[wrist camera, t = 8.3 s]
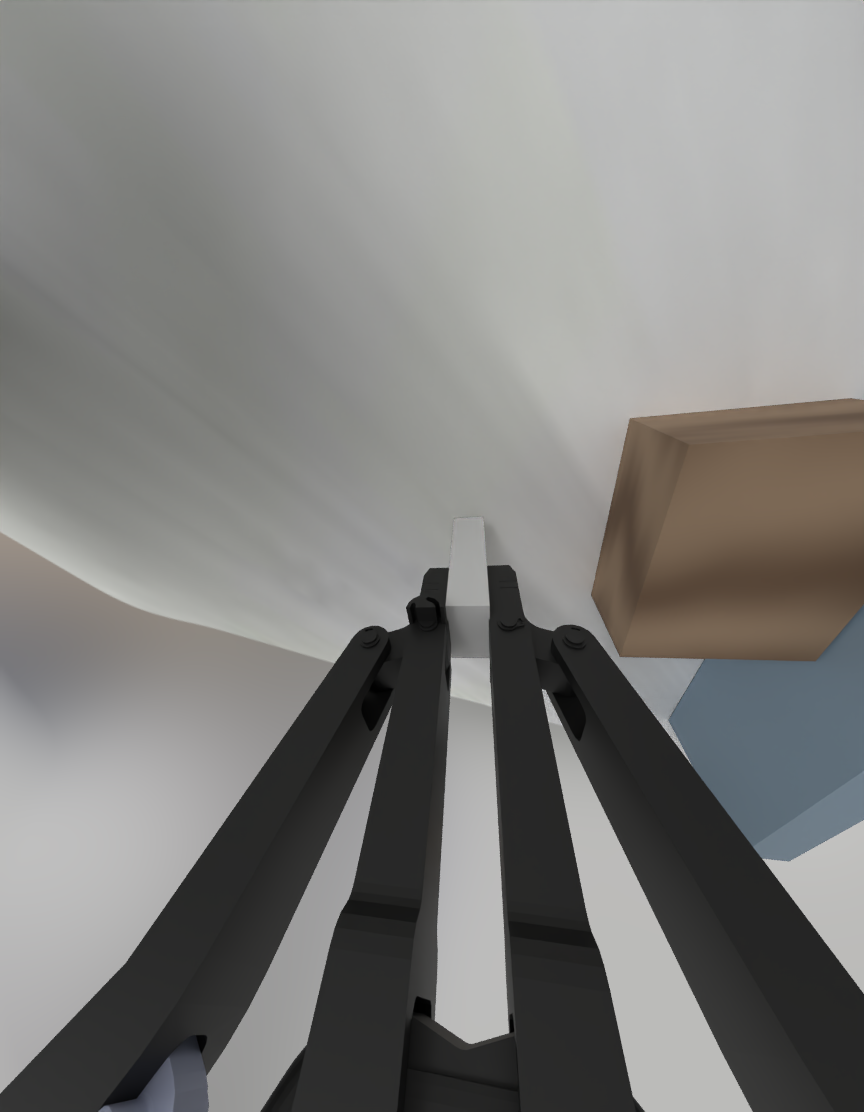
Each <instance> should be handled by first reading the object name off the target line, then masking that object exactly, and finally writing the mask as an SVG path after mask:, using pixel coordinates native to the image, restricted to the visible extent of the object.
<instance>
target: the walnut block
mask: <svg viewBox="0 0 864 1112" xmlns="http://www.w3.org/2000/svg"><path fill="white" fill-rule="evenodd" d="M591 596H592V598H593V600H594V602H595V604H596V606H597V608H598V611H599V613H600V615H601V617H602V619H603V621H604V623H605V626H606V628H607V630H608V632H609V634H610V636H611V638H612V641H613V643H614V645H615V647H616V649H617V651H618V653H619V655H620V657H650V658H693V659H735V660H777V661H816V660H817V659H818V658H819V657H820V655H821V654H822V653H823V652H824V651H825V650H826V648H827V647H828V646H829V645H830V644H831V642H832V641H833V640H834V639H835V638H836V637H837V635H838V634H839V633H840V632H841V631H842V629H843V628H844V627H845V626H846V625H847V624H848V622H849V621H850V620H851V619H852V618H853V616H854V615H855V614H856V613H857V612H858V611H859V609H860V608H861V607H862V606H863V605H864V400H859V399H852V398H850V399H839V400H827V401H816V402H805V403H794V404H783V405H772V406H761V407H750V408H739V409H728V410H717V411H706V412H695V413H684V414H673V415H662V416H651V417H640V418H630V420H629V425H628V429H627V434H626V438H625V443H624V447H623V452H622V457H621V461H620V466H619V470H618V475H617V479H616V484H615V489H614V493H613V498H612V502H611V507H610V511H609V516H608V521H607V525H606V530H605V534H604V539H603V543H602V548H601V552H600V557H599V562H598V566H597V571H596V575H595V580H594V584H593V589H592V594H591Z"/></svg>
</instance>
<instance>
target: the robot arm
mask: <svg viewBox="0 0 864 1112" xmlns="http://www.w3.org/2000/svg"><path fill="white" fill-rule="evenodd" d="M406 609H407V614H408V619H409V623H410V624H409V625H408V626H406V627H404V628H402V629H399V630H395V631H392V632H387V631H386V630H385V629H384V628H382V627H380V626H370V627H366V628H364V629H362V630H360V631H359V632H358V633H357V634H356V635H355V636H354V637H353V638H352V640H351V641H350V643H349V644H348V646H347V647H346V648H345V650H344V651H343V653H342V654H341V656H340V657H339V658H338V660H337V661H336V663H335V664H334V666H333V667H332V669H331V670H330V671H329V673H328V674H327V676H326V677H325V679H324V680H323V682H322V683H321V685H320V686H319V687H318V689H317V690H316V691H315V693H314V694H313V696H312V697H311V699H310V700H309V701H308V703H307V704H306V706H305V707H304V709H303V710H302V712H301V713H300V714H299V716H298V717H297V719H296V720H295V722H294V723H293V724H292V726H291V727H290V729H289V730H288V732H287V733H286V735H285V736H284V737H283V739H282V740H281V742H280V743H279V744H278V746H277V747H276V749H275V750H274V752H273V753H272V754H271V756H270V757H269V759H268V760H267V762H266V763H265V764H264V766H263V767H262V769H261V770H260V772H259V773H258V775H257V776H256V777H255V779H254V780H253V782H252V783H251V785H250V786H249V787H248V789H247V790H246V792H245V793H244V795H243V796H242V797H241V799H240V800H239V802H238V803H237V805H236V806H235V807H234V809H233V810H232V812H231V813H230V815H229V816H228V818H227V819H226V821H225V822H224V823H223V825H222V826H221V828H220V829H219V830H218V832H217V833H216V835H215V836H214V838H213V839H212V841H211V842H210V843H209V845H208V846H207V848H206V849H205V850H204V852H203V854H202V855H201V856H200V858H199V859H198V861H197V862H196V864H195V865H194V866H193V868H192V869H191V870H190V872H189V873H188V875H187V876H186V878H185V879H184V881H183V882H182V883H181V885H180V886H179V888H178V889H177V891H176V892H175V894H174V895H173V896H172V898H171V899H170V901H169V902H168V903H167V905H166V906H165V908H164V909H163V911H162V912H161V913H160V915H159V916H158V918H157V919H156V921H155V922H154V924H153V925H152V926H151V928H150V929H149V931H148V932H147V934H146V935H145V936H144V938H143V939H142V941H141V942H140V944H139V945H138V946H137V948H136V949H135V951H134V952H133V954H132V955H131V956H130V958H129V959H128V961H127V962H126V964H125V965H124V966H123V967H122V968H121V969H120V970H119V971H118V972H117V973H116V974H115V975H114V976H113V977H112V978H111V979H110V980H109V981H108V982H107V983H106V984H105V985H104V986H103V987H102V988H101V990H100V991H99V992H98V993H97V994H96V995H95V996H94V997H93V998H92V999H91V1000H90V1001H89V1002H88V1003H87V1004H86V1005H85V1006H84V1007H83V1008H82V1010H80V1011H79V1012H78V1013H77V1015H76V1016H75V1017H74V1018H73V1019H72V1020H71V1021H70V1022H69V1023H68V1024H67V1025H66V1026H65V1027H64V1028H63V1029H62V1030H61V1031H60V1032H59V1033H58V1034H57V1035H56V1036H55V1037H54V1039H52V1040H51V1041H50V1043H49V1044H48V1045H47V1046H46V1047H45V1048H44V1049H43V1050H42V1051H41V1052H40V1053H39V1054H38V1055H37V1056H36V1057H35V1058H34V1059H33V1060H32V1061H31V1063H29V1064H28V1065H27V1066H26V1068H25V1069H24V1070H23V1071H22V1072H21V1073H20V1074H19V1075H18V1076H17V1077H16V1078H15V1079H14V1080H13V1081H12V1082H11V1083H10V1084H9V1085H8V1086H7V1087H6V1088H5V1089H4V1090H3V1092H2V1093H1V1094H0V1112H208V1108H209V1102H208V1093H207V1090H208V1085H207V1077H206V1076H207V1074H208V1073H209V1071H210V1070H211V1068H212V1067H213V1065H214V1064H215V1062H216V1061H217V1059H218V1058H219V1056H220V1055H221V1053H222V1052H223V1050H224V1049H225V1047H226V1045H227V1044H228V1042H229V1041H230V1039H231V1037H232V1035H233V1033H234V1032H235V1030H236V1029H237V1027H238V1025H239V1023H240V1022H241V1020H242V1018H243V1017H244V1015H245V1013H246V1011H247V1010H248V1008H249V1006H250V1004H251V1002H252V1000H253V998H254V996H255V994H256V992H257V990H258V988H259V986H260V985H261V982H262V980H263V979H264V977H265V975H266V973H267V971H268V968H269V967H270V964H271V962H272V960H273V958H274V956H275V954H276V952H277V949H278V947H279V945H280V943H281V941H282V939H283V937H284V934H285V932H286V930H287V928H288V926H289V924H290V922H291V920H292V917H293V915H294V913H295V911H296V909H297V907H298V904H299V902H300V900H301V898H302V896H303V894H304V892H305V889H306V887H307V885H308V883H309V881H310V879H311V876H312V875H313V873H314V870H315V868H316V866H317V864H318V862H319V860H320V858H321V855H322V853H323V851H324V849H325V847H326V845H327V842H328V841H329V838H330V836H331V834H332V832H333V830H334V827H335V826H336V823H337V821H338V819H339V817H340V815H341V813H342V811H343V809H344V806H345V804H346V802H347V800H348V798H349V796H350V793H351V791H352V789H353V787H354V785H355V783H356V781H357V778H358V777H359V774H360V772H361V770H362V768H363V766H364V764H365V761H366V759H367V757H368V755H369V753H370V751H371V749H372V747H373V744H374V742H375V740H376V738H377V736H378V734H379V732H380V729H381V727H382V725H383V723H384V721H385V719H386V716H387V715H388V712H389V710H390V708H391V706H392V709H391V713H390V719H389V723H388V727H387V732H386V737H385V742H384V746H383V751H382V755H381V760H380V764H379V769H378V774H377V778H376V783H375V788H374V792H373V797H372V802H371V806H370V811H369V816H368V820H367V825H366V830H365V834H364V839H363V844H362V848H361V853H360V857H359V862H358V867H357V872H356V876H355V881H354V885H353V888H352V892H351V895H350V897H349V900H348V901H347V903H346V905H345V906H344V908H343V910H342V911H341V914H340V916H339V918H338V921H337V924H336V926H335V929H334V933H333V937H332V940H331V944H330V948H329V952H328V956H327V961H326V965H325V969H324V974H323V978H322V982H321V987H320V991H319V995H318V999H317V1004H316V1008H315V1012H314V1017H313V1021H312V1025H311V1030H310V1034H309V1038H308V1042H307V1045H306V1046H305V1048H304V1049H303V1050H302V1051H301V1053H300V1054H299V1055H298V1056H297V1058H296V1059H295V1060H294V1061H293V1063H292V1064H291V1066H290V1067H289V1069H288V1070H287V1072H286V1073H285V1075H284V1076H283V1078H282V1079H281V1081H280V1082H279V1084H278V1086H277V1087H276V1089H275V1090H274V1092H273V1093H272V1095H271V1096H270V1098H269V1099H268V1101H267V1102H266V1104H265V1106H264V1107H263V1109H262V1110H261V1112H645V1111H644V1110H643V1109H642V1108H641V1106H640V1105H639V1104H638V1102H637V1101H636V1100H635V1099H634V1097H633V1096H632V1091H631V1087H630V1082H629V1077H628V1072H627V1068H626V1063H625V1058H624V1054H623V1049H622V1044H621V1040H620V1035H619V1030H618V1026H617V1021H616V1016H615V1012H614V1007H613V1003H612V998H611V993H610V988H609V984H608V980H607V976H606V972H605V968H604V964H603V961H602V958H601V954H600V951H599V948H598V946H597V944H596V941H595V939H594V937H593V934H592V932H591V928H590V925H589V921H588V918H587V913H586V908H585V903H584V898H583V893H582V888H581V883H580V878H579V874H578V868H577V863H576V858H575V853H574V848H573V843H572V838H571V833H570V828H569V823H568V819H567V813H566V809H565V804H564V799H563V794H562V789H561V784H560V779H559V774H558V769H557V764H556V759H555V754H554V749H553V744H552V739H551V734H550V729H549V724H548V719H547V714H546V709H545V704H544V699H543V694H542V689H544V690H546V692H547V694H548V696H549V698H550V700H551V702H552V704H553V706H554V708H555V710H556V712H557V715H558V717H559V719H560V721H561V723H562V725H563V727H564V729H565V731H566V733H567V735H568V737H569V739H570V741H571V743H572V745H573V747H574V749H575V752H576V754H577V756H578V758H579V760H580V762H581V764H582V766H583V768H584V770H585V772H586V774H587V776H588V778H589V780H590V782H591V784H592V786H593V789H594V791H595V793H596V795H597V797H598V799H599V801H600V803H601V805H602V807H603V809H604V811H605V813H606V815H607V817H608V819H609V821H610V823H611V825H612V827H613V830H614V832H615V834H616V836H617V838H618V840H619V842H620V844H621V846H622V848H623V850H624V852H625V854H626V856H627V858H628V860H629V862H630V864H631V867H632V869H633V871H634V873H635V875H636V877H637V879H638V881H639V883H640V885H641V887H642V889H643V891H644V893H645V895H646V897H647V899H648V901H649V904H650V906H651V908H652V910H653V912H654V914H655V916H656V918H657V920H658V922H659V924H660V926H661V928H662V930H663V932H664V934H665V936H666V938H667V941H668V943H669V944H670V947H671V948H672V951H673V953H674V955H675V957H676V959H677V961H678V963H679V965H680V967H681V969H682V971H683V973H684V975H685V977H686V980H687V981H688V984H689V986H690V988H691V990H692V992H693V994H694V996H695V998H696V1000H697V1002H698V1004H699V1006H700V1008H701V1010H702V1012H703V1014H704V1017H705V1019H706V1021H707V1023H708V1025H709V1027H710V1029H711V1031H712V1033H713V1035H714V1037H715V1039H716V1041H717V1043H718V1045H719V1047H720V1050H721V1051H722V1053H723V1055H724V1057H725V1059H726V1061H727V1063H728V1065H729V1067H730V1069H731V1071H732V1072H733V1075H734V1076H735V1078H736V1080H737V1082H738V1084H739V1086H740V1088H741V1090H742V1092H743V1094H744V1096H745V1097H746V1099H747V1101H748V1103H749V1105H750V1107H751V1109H752V1111H753V1112H864V994H863V992H862V991H861V990H860V989H859V987H858V986H857V984H856V983H855V982H854V980H853V979H852V978H851V976H850V975H849V974H848V972H847V971H846V970H845V968H844V967H843V966H842V965H841V963H840V962H839V960H838V959H837V958H836V956H835V955H834V954H833V952H832V951H831V950H830V948H829V947H828V946H827V944H826V943H825V942H824V941H823V939H822V938H821V937H820V935H819V934H818V933H817V931H816V930H815V929H814V927H813V926H812V925H811V923H810V922H809V921H808V919H807V918H806V917H805V915H804V914H803V913H802V911H801V910H800V909H799V907H798V906H797V905H796V904H795V902H794V901H793V900H792V898H791V897H790V895H789V894H788V893H787V891H786V890H785V889H784V887H783V886H782V885H781V883H780V882H779V881H778V879H777V878H776V877H775V875H774V874H773V873H772V872H771V870H770V869H769V867H768V866H767V865H766V864H765V862H764V861H763V860H762V858H761V857H760V856H759V854H758V853H757V852H756V850H755V849H754V848H753V846H752V845H751V844H750V842H749V841H748V840H747V838H746V837H745V836H744V834H743V833H742V832H741V830H740V829H739V828H738V826H737V825H736V824H735V822H734V821H733V820H732V818H731V817H730V816H729V814H728V813H727V812H726V810H725V809H724V808H723V806H722V805H721V804H720V802H719V801H718V800H717V798H716V797H715V796H714V794H713V793H712V792H711V790H710V789H709V788H708V787H707V785H706V784H705V783H704V781H703V780H702V779H701V777H700V776H699V775H698V773H697V772H696V771H695V769H694V768H693V767H692V765H691V764H690V763H689V761H688V760H687V759H686V757H685V756H684V755H683V753H682V752H681V751H680V749H679V748H678V747H677V745H676V744H675V743H674V741H673V740H672V739H671V737H670V736H669V735H668V733H667V732H666V731H665V729H664V728H663V727H662V725H661V724H660V723H659V721H658V720H657V719H656V717H655V716H654V715H653V714H652V712H651V711H650V710H649V708H648V707H647V706H646V704H645V703H644V702H643V700H642V699H641V698H640V696H639V695H638V694H637V692H636V691H635V690H634V688H633V687H632V686H631V684H630V683H629V682H628V680H627V679H626V678H625V676H624V675H623V674H622V672H621V671H620V670H619V668H618V667H617V666H616V664H615V663H614V662H613V660H612V659H611V658H610V656H609V655H608V654H607V652H606V651H605V650H604V648H603V647H602V646H601V644H600V643H599V642H598V641H597V639H596V638H595V637H594V635H592V634H591V633H590V632H589V631H588V630H586V629H584V628H582V627H580V626H576V625H563V626H560V627H558V628H557V629H556V630H555V631H554V632H553V631H549V630H545V629H542V628H539V627H536V626H534V625H533V624H531V623H530V622H529V621H528V620H527V619H526V618H525V616H524V613H523V609H522V604H521V598H520V593H519V589H518V583H517V578H516V573H515V571H514V570H513V569H512V568H511V567H510V566H509V565H501V566H487V561H486V547H485V533H484V519H483V517H466V518H454V524H453V534H452V544H451V554H450V565H449V568H430V569H429V570H428V571H427V572H426V574H425V575H424V578H423V583H422V588H421V593H420V596H418V597H416V598H413V599H412V600H411V601H410V602H409V603H408V605H407V607H406ZM451 657H452V658H490V683H491V698H492V716H493V734H494V752H495V771H496V787H497V806H498V826H499V843H500V862H501V879H502V898H503V917H504V934H505V959H506V960H505V962H506V984H507V1001H508V1021H509V1034H505V1035H502V1036H499V1037H495V1038H492V1039H488V1040H485V1041H481V1042H478V1043H475V1044H468V1043H466V1042H464V1041H463V1040H461V1039H460V1038H459V1037H457V1036H455V1035H454V1034H453V1033H451V1032H450V1031H448V1030H447V1029H446V1028H444V1027H443V1026H441V1025H440V1024H438V1023H437V1022H435V1003H436V984H437V952H438V949H437V915H438V898H439V881H440V862H441V845H442V826H443V808H444V793H445V775H446V757H447V740H448V721H449V705H450V687H451V662H450V660H451Z"/></svg>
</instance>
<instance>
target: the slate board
mask: <svg viewBox="0 0 864 1112" xmlns="http://www.w3.org/2000/svg"><path fill="white" fill-rule="evenodd" d="M669 722H670V724H671V726H672V728H673V730H674V732H675V733H676V735H677V737H678V739H679V741H680V743H681V745H682V747H683V749H684V751H685V753H686V754H687V756H688V758H689V760H690V762H691V764H692V766H693V768H694V769H695V771H696V772H697V773H698V775H699V776H700V777H701V779H702V780H703V781H704V783H705V784H706V785H707V787H708V788H709V789H710V790H711V792H712V793H713V794H714V796H715V797H716V798H717V800H718V801H719V802H720V804H721V805H722V806H723V808H724V809H725V810H726V812H727V813H728V814H729V816H730V817H731V818H732V820H733V821H734V822H735V824H736V825H737V826H738V828H739V829H740V830H741V832H742V833H743V834H744V836H745V837H746V838H747V840H748V841H749V842H750V844H751V845H752V846H753V848H754V849H755V850H756V852H757V853H758V854H759V856H760V857H761V858H763V859H772V860H782V861H791V860H792V859H794V858H796V857H798V856H800V855H801V854H803V853H805V852H807V851H809V850H810V849H812V848H814V847H815V846H818V845H819V844H821V843H823V842H825V841H827V840H828V839H830V838H832V837H834V836H836V835H837V834H839V833H841V832H843V831H845V830H846V829H848V828H850V827H852V826H853V825H855V824H857V823H859V822H861V821H863V820H864V605H863V606H862V607H861V608H860V609H859V611H858V612H857V613H856V614H855V615H854V616H853V618H852V619H851V620H850V621H849V622H848V624H847V625H846V626H845V627H844V628H843V629H842V631H841V632H840V633H839V634H838V635H837V637H836V638H835V639H834V640H833V641H832V642H831V644H830V645H829V646H828V647H827V648H826V650H825V651H824V652H823V653H822V654H821V655H820V657H819V658H818V659H817V660H816V661H777V660H735V659H705V660H704V662H703V663H702V665H701V667H700V668H699V670H698V672H697V673H696V675H695V677H694V678H693V680H692V682H691V683H690V685H689V687H688V688H687V690H686V692H685V693H684V695H683V697H682V699H681V700H680V702H679V704H678V705H677V707H676V709H675V710H674V712H673V714H672V715H671V717H670V719H669Z"/></svg>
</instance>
